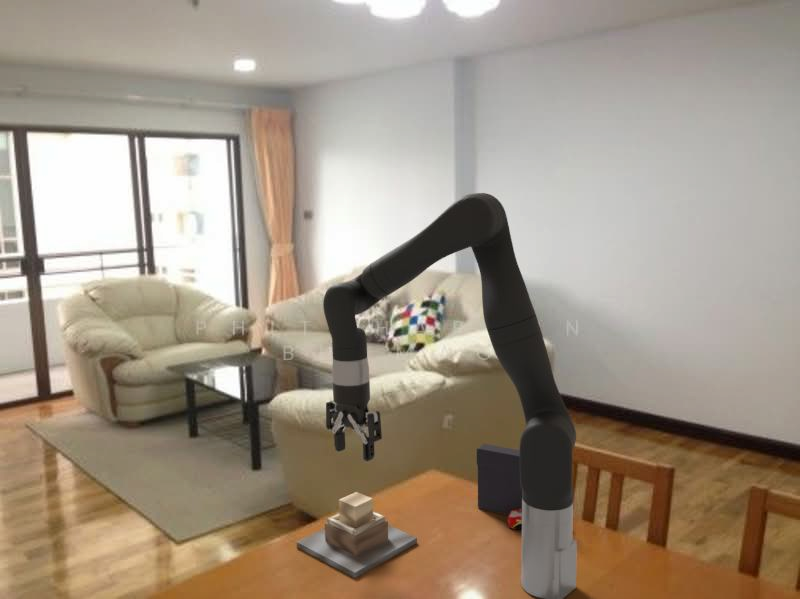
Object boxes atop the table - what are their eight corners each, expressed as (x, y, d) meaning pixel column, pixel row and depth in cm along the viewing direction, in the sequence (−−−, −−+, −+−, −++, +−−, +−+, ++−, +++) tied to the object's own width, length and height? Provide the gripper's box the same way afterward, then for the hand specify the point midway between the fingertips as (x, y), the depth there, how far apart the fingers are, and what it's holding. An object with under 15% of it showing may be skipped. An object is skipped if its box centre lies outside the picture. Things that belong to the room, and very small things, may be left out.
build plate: (417, 542, 148) (416, 515, 147) (355, 578, 135) (354, 548, 134) (358, 516, 160) (357, 491, 159) (296, 547, 147) (295, 519, 146)
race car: (568, 525, 155) (569, 508, 154) (568, 537, 149) (569, 519, 149) (508, 519, 158) (508, 502, 157) (506, 530, 152) (507, 513, 152)
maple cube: (373, 520, 146) (372, 498, 146) (356, 529, 143) (355, 506, 142) (356, 513, 150) (356, 491, 149) (339, 522, 146) (338, 499, 145)
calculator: (527, 512, 160) (528, 450, 158) (521, 519, 157) (521, 456, 154) (484, 502, 166) (483, 442, 164) (476, 509, 162) (476, 448, 160)
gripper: (388, 380, 139) (391, 457, 142) (341, 369, 149) (344, 442, 152) (361, 389, 134) (365, 469, 137) (314, 377, 144) (318, 452, 146)
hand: (354, 454), depth 144 cm, fingers open, 8 cm apart
